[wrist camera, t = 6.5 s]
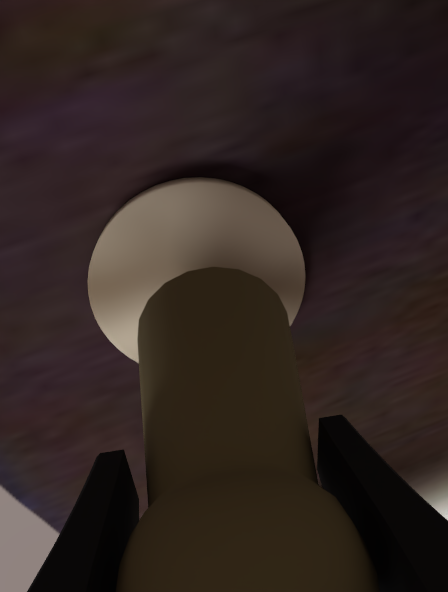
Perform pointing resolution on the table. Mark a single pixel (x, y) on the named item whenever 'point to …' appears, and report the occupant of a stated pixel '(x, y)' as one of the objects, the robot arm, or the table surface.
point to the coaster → (187, 249)
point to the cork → (231, 452)
